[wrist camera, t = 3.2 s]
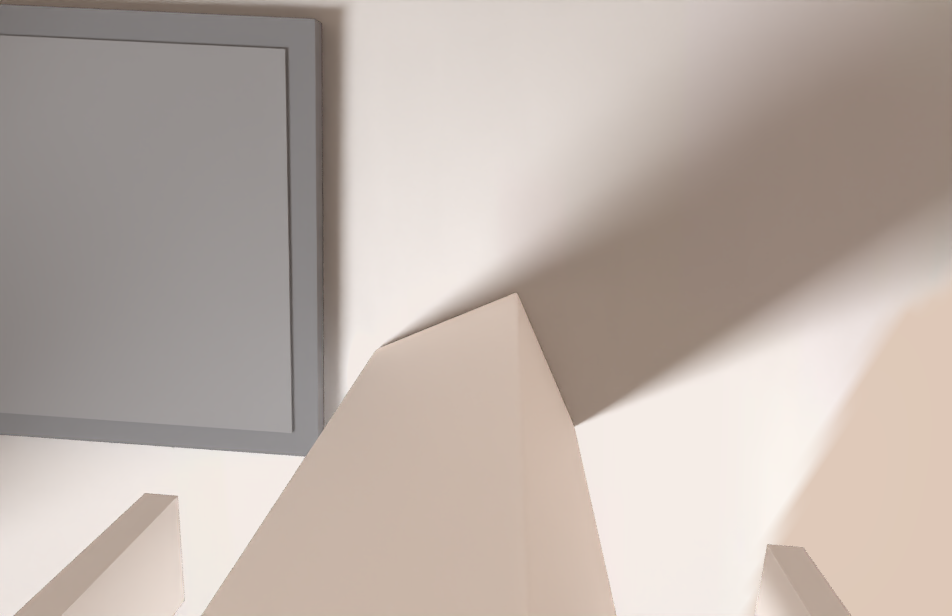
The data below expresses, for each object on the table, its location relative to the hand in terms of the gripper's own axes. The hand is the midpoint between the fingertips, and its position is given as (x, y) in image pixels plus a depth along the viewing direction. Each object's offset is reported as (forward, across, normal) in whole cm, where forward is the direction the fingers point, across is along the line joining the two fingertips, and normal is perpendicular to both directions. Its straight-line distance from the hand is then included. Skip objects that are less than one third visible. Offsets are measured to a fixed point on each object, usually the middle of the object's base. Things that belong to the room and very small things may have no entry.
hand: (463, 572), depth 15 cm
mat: (+11, -14, +5) cm, 19 cm away
